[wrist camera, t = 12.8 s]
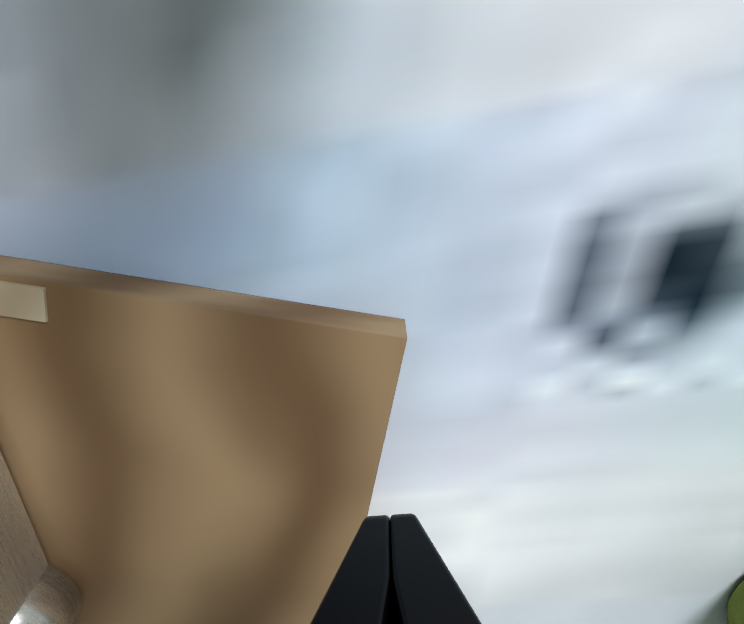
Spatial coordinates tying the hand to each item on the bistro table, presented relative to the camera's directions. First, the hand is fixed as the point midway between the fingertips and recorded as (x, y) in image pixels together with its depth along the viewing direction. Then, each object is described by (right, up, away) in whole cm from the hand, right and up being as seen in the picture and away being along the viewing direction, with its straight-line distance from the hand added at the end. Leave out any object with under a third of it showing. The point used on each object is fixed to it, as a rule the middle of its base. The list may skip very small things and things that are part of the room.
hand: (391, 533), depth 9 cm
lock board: (-12, -5, +14) cm, 19 cm away
